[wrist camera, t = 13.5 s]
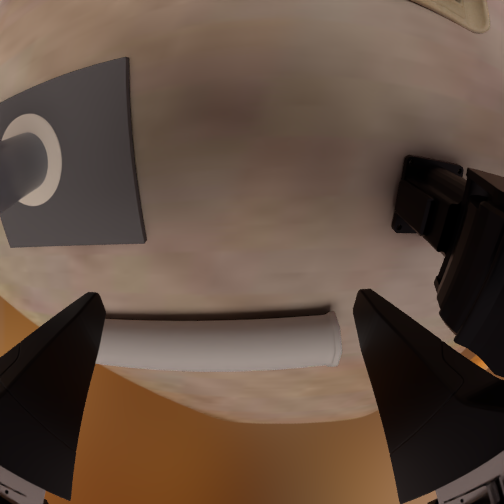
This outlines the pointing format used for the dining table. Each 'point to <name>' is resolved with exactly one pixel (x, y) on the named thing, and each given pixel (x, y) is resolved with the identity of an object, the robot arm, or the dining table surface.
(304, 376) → the dining table surface
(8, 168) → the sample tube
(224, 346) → the tube
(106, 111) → the mat
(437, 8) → the wooden puzzle
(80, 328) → the robot arm
